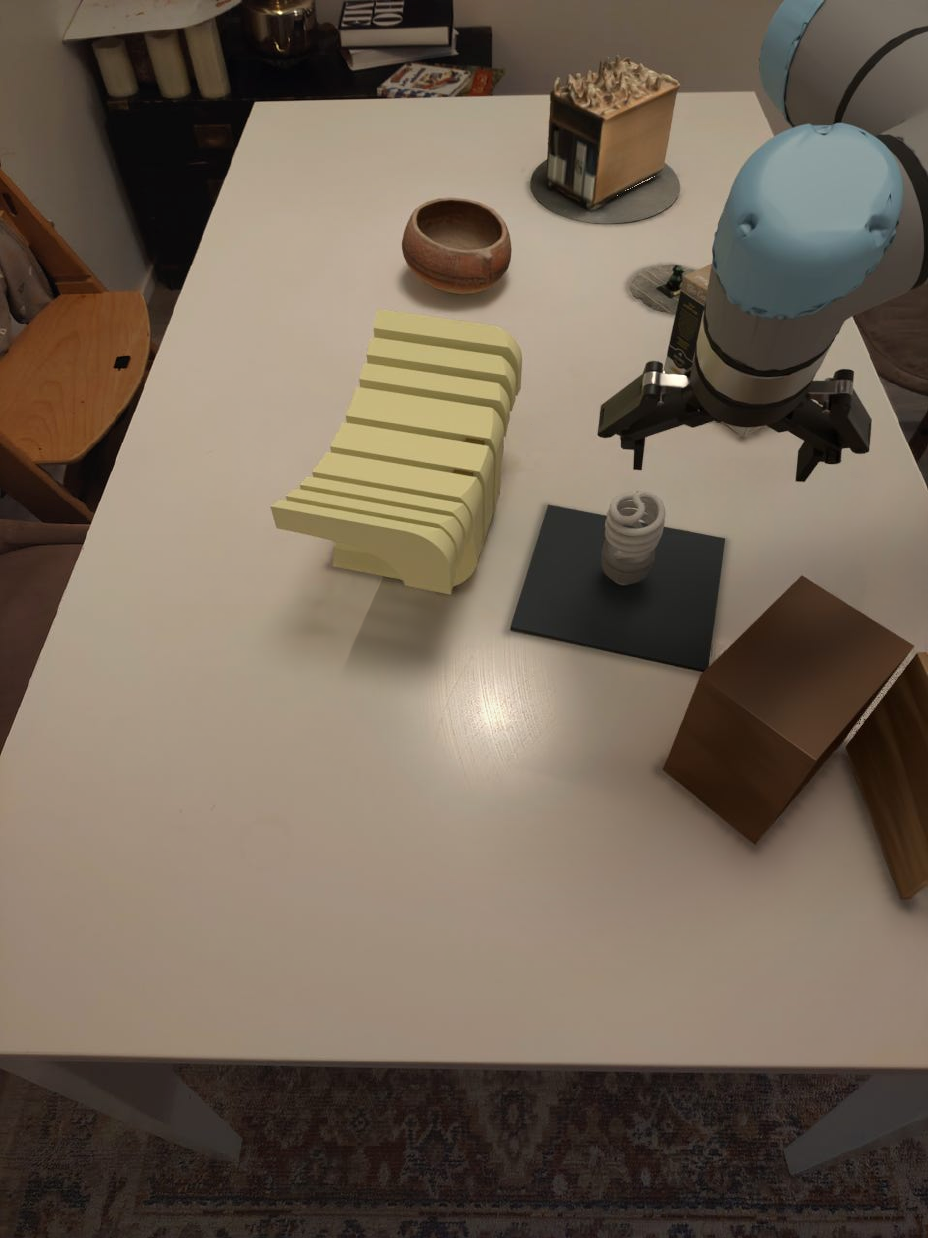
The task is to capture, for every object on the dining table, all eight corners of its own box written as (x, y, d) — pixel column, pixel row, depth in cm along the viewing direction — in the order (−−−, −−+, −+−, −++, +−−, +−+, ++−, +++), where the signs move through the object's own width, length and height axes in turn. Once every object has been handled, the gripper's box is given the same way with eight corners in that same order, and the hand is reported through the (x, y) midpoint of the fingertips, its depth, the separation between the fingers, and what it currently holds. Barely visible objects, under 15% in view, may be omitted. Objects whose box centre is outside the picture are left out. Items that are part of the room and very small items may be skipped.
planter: (668, 232, 130) (693, 102, 115) (514, 212, 134) (519, 83, 119) (688, 160, 144) (712, 35, 129) (548, 143, 149) (556, 21, 134)
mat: (724, 541, 92) (725, 538, 91) (706, 673, 81) (708, 670, 81) (547, 507, 95) (548, 504, 95) (510, 630, 85) (510, 626, 84)
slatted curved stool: (453, 657, 83) (448, 538, 69) (305, 626, 85) (270, 506, 71) (517, 457, 100) (523, 329, 86) (391, 437, 103) (377, 308, 88)
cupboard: (841, 743, 77) (914, 645, 64) (755, 845, 71) (816, 761, 58) (750, 678, 81) (801, 574, 68) (662, 769, 75) (699, 675, 62)
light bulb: (612, 553, 90) (627, 472, 80) (658, 575, 88) (680, 495, 78) (585, 586, 87) (598, 506, 78) (632, 610, 85) (652, 531, 76)
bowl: (491, 320, 117) (492, 253, 109) (389, 301, 120) (382, 234, 112) (523, 262, 126) (526, 196, 118) (426, 246, 129) (423, 180, 121)
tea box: (798, 409, 105) (839, 304, 93) (742, 440, 101) (777, 335, 89) (714, 350, 112) (742, 246, 100) (658, 377, 109) (680, 273, 97)
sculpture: (700, 322, 116) (672, 276, 113) (647, 345, 123) (618, 302, 120) (723, 274, 122) (697, 228, 118) (671, 298, 129) (645, 256, 125)
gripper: (984, 298, 49) (876, 428, 69) (564, 286, 54) (579, 410, 74) (976, 419, 48) (869, 514, 69) (550, 396, 53) (570, 491, 74)
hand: (718, 460), depth 72 cm, fingers open, 13 cm apart
